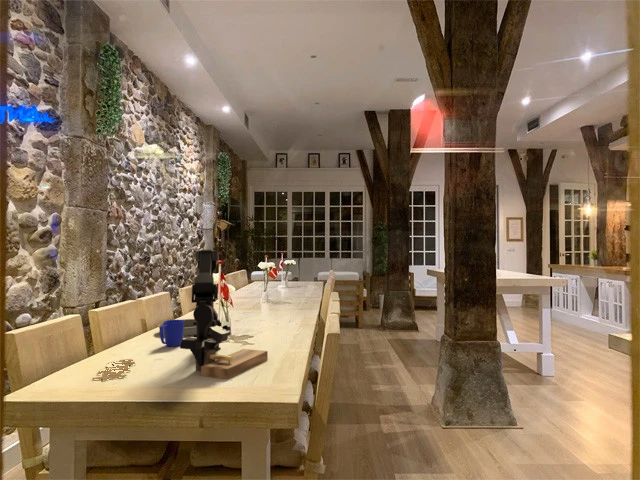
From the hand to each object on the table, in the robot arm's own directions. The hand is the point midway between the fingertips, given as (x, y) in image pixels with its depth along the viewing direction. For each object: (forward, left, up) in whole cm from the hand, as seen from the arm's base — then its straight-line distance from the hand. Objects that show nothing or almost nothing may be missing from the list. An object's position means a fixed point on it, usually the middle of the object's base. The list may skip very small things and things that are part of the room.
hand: (205, 364), depth 154 cm
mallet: (+4, 0, -2) cm, 4 cm away
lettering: (-28, -11, -2) cm, 30 cm away
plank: (+8, +6, -2) cm, 10 cm away
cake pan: (-51, +52, -2) cm, 72 cm away
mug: (-36, +25, -2) cm, 44 cm away
